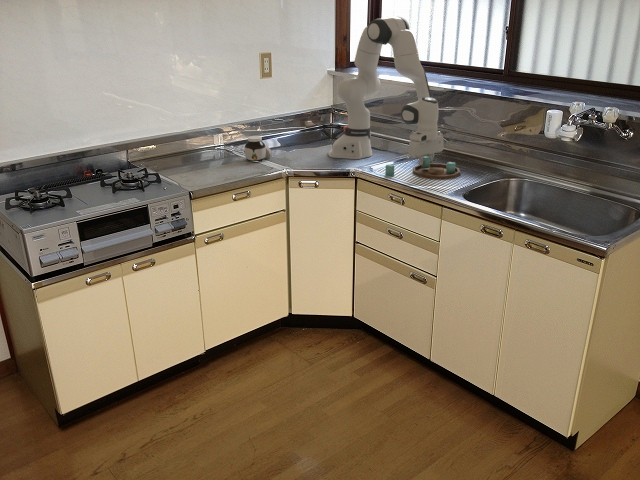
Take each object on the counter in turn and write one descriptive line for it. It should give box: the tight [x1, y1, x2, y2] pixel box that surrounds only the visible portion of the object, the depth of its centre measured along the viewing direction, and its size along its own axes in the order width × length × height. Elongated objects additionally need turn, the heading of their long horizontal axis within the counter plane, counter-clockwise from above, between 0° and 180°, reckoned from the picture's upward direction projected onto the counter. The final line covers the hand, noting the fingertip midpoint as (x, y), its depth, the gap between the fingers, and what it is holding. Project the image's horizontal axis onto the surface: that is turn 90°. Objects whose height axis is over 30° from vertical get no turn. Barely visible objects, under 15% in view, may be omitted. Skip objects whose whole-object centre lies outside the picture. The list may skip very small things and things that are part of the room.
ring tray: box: [412, 162, 461, 180], centre depth 285 cm, size 21×21×2 cm
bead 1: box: [384, 164, 395, 177], centre depth 284 cm, size 4×4×4 cm
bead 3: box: [446, 161, 457, 174], centre depth 284 cm, size 4×4×4 cm
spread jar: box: [244, 135, 273, 162], centre depth 309 cm, size 12×11×12 cm
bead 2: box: [421, 156, 431, 168], centre depth 288 cm, size 4×4×4 cm
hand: (425, 163), depth 289 cm, fingers closed on bead 2, 4 cm apart
